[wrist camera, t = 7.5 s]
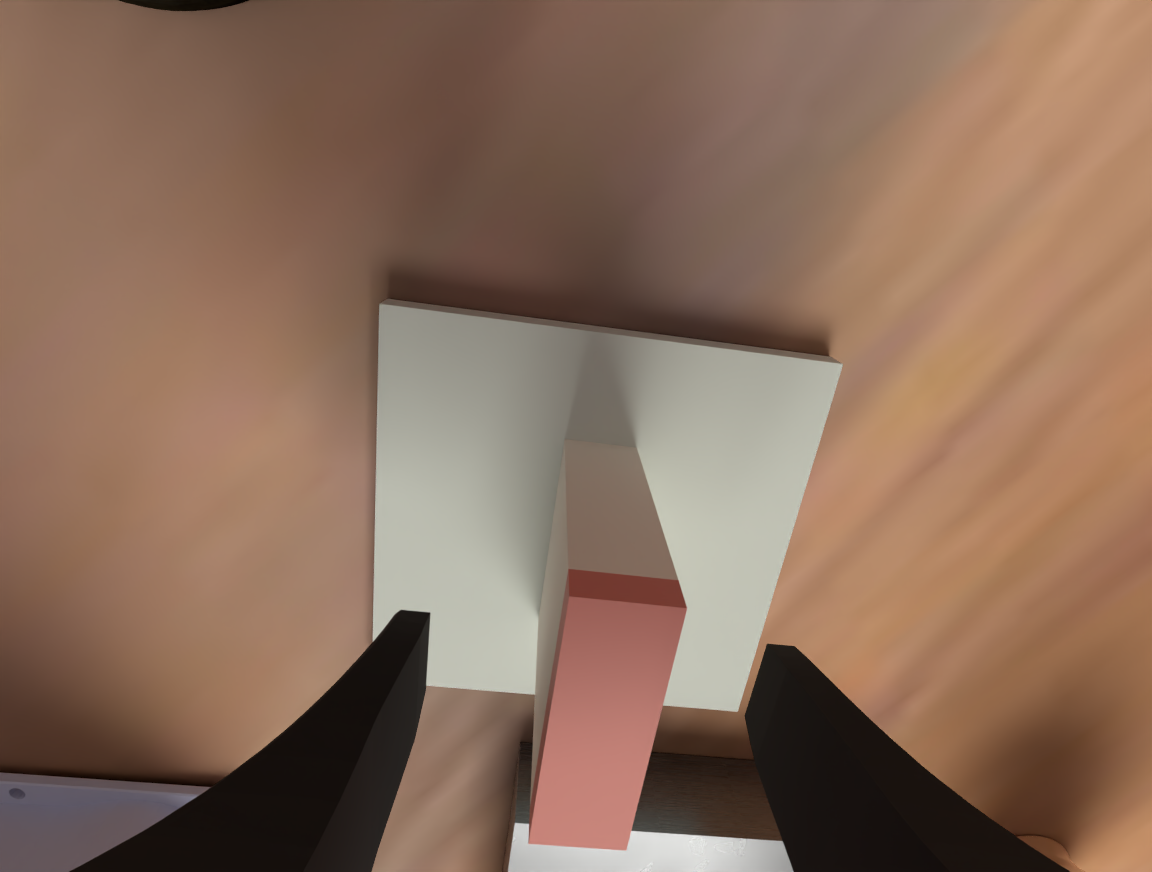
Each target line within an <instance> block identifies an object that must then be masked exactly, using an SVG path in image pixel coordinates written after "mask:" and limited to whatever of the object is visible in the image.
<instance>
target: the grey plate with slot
mask: <svg viewBox="0 0 1152 872" xmlns="http://www.w3.org/2000/svg"><path fill="white" fill-rule="evenodd" d="M532 750H533V743H524V742H520V748H519V755H518V762H517V770H516V777H515V784H514V791H513V799H512V806H511V813H510V820H509V828H508V835H507V842H506V849H505V856H504V864H503V871H502V872H794V871H793V869H792V866H791V863H790V860H789V857H788V855H787V852H786V849H785V846H784V844H783V841H782V838H781V835H780V832H779V830H778V827H777V824H776V821H775V819H774V816H773V813H772V810H771V807H770V805H769V802H768V799H767V796H766V793H765V791H764V788H763V785H762V782H761V779H760V776H759V773H758V770H757V767H756V764H755V760H743V759H730V758H717V757H704V756H691V755H678V754H666V753H653V752H651V755H650V758H649V762H648V766H647V770H646V774H645V778H644V782H643V786H642V790H641V794H640V798H639V802H638V806H637V810H636V814H635V818H634V822H633V826H632V830H631V834H630V838H629V842H628V846H627V850H626V851H624V850H610V849H595V848H581V847H566V846H552V845H537V844H528V840H529V818H530V795H531V773H532Z"/></svg>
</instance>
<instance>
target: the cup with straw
mask: <svg viewBox="0 0 1152 872" xmlns="http://www.w3.org/2000/svg"><path fill="white" fill-rule="evenodd" d="M1017 837H1018V838H1019V839H1021V840H1022V841H1024V842H1025V843H1026V844H1028V845H1029V846H1031V847H1032V848H1034V849H1035V850H1037V851H1039V852H1040V853H1042V854H1043V855H1045V856H1046V857H1048V858H1049V859H1051V860H1053V861H1054V862H1056V863H1057V864H1059V865H1060V866H1062V867H1064V868H1065V869H1067V870H1069V871H1070V872H1085V871H1084V870H1082V869H1080V868H1079V867H1078V866H1076V865H1075V864H1074V863H1073V862H1072V861H1071V859H1070V857H1069V855H1068V853H1067V851H1066V850H1065V848H1064V847H1063V846H1062V845H1061V844H1059V843H1058V842H1056V841H1054V840H1052V839H1050V838H1046V837H1042V836H1033V835H1029V836H1017Z"/></svg>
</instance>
